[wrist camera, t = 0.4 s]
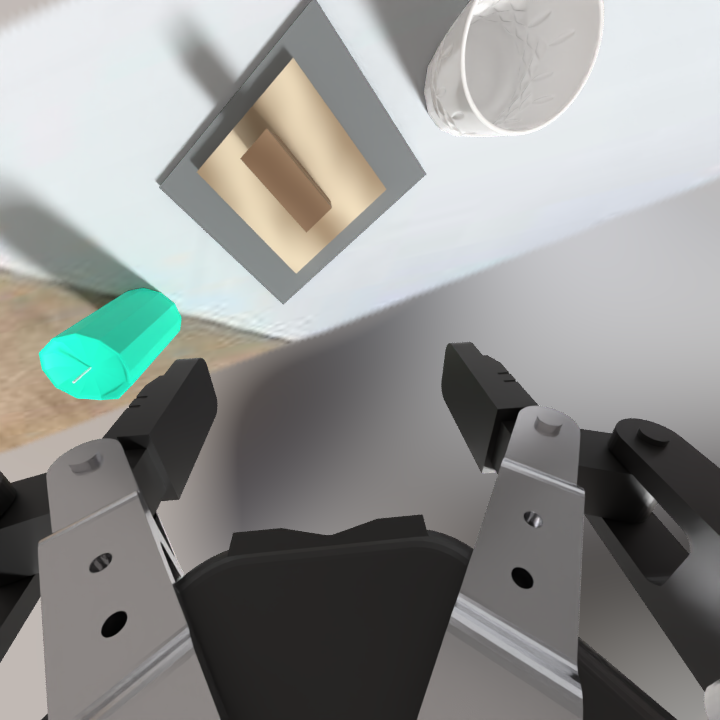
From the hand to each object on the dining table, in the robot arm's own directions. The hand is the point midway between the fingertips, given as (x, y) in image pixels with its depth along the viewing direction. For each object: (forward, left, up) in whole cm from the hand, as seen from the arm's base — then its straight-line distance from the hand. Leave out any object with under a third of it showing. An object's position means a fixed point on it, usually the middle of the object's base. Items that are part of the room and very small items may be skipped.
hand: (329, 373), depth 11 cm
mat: (-1, -5, -24) cm, 24 cm away
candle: (+19, -6, -24) cm, 31 cm away
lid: (-1, -5, -23) cm, 24 cm away
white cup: (-16, -1, -24) cm, 29 cm away
